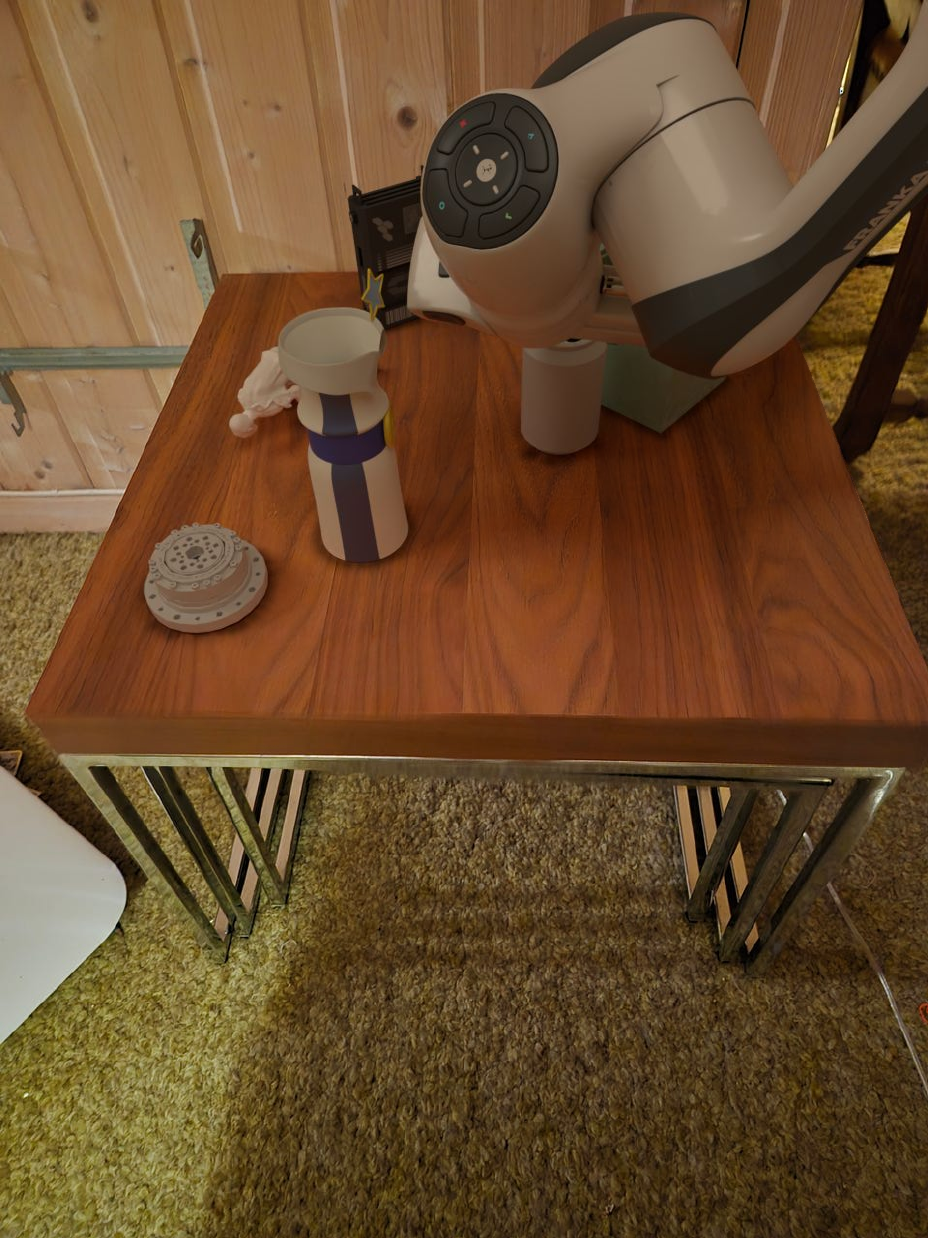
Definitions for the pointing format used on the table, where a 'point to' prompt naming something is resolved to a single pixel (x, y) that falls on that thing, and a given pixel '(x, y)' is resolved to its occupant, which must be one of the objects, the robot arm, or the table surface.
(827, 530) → the table surface
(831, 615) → the table surface
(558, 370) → the can
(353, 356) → the water bottle
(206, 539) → the mechanical component
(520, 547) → the table surface
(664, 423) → the green box
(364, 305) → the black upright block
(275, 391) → the figurine
